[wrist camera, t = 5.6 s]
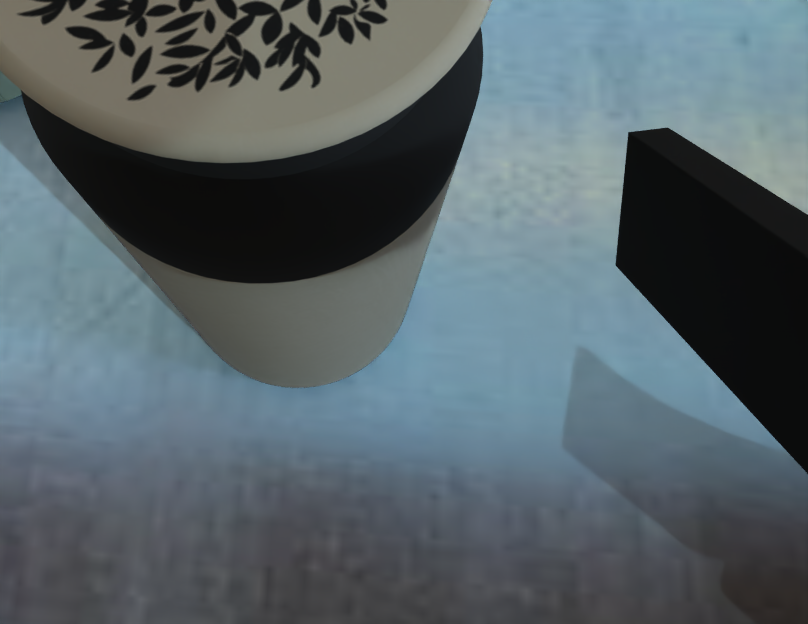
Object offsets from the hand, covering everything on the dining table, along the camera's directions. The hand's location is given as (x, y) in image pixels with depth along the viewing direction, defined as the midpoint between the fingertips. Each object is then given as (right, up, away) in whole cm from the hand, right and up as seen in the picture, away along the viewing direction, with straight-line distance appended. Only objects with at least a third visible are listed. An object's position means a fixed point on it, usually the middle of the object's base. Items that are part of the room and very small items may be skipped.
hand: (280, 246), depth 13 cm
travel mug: (-2, 0, +14) cm, 14 cm away
